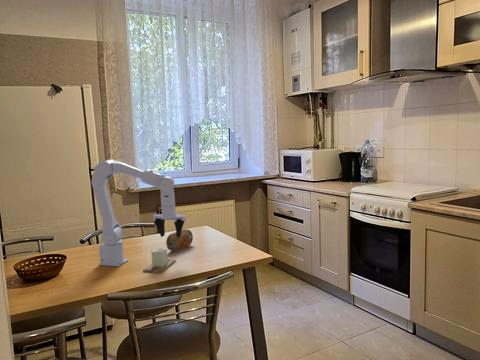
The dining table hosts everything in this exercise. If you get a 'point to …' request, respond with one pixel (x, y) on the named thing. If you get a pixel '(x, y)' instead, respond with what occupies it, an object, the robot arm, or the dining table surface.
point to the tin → (179, 240)
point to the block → (159, 257)
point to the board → (159, 269)
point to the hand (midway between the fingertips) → (170, 236)
